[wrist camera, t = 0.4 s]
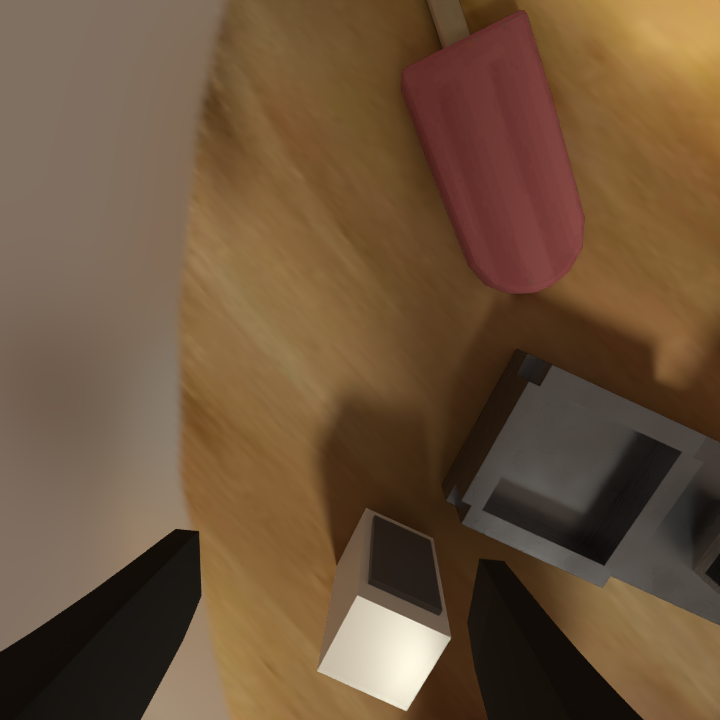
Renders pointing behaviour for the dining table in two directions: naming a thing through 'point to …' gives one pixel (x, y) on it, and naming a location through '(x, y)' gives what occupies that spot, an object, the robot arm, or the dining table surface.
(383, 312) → the dining table surface
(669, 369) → the dining table surface
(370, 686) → the block
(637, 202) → the dining table surface
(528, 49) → the popsicle
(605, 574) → the grey socket block stand
